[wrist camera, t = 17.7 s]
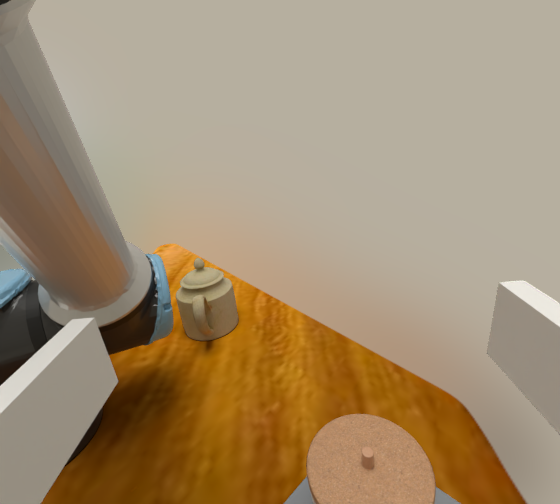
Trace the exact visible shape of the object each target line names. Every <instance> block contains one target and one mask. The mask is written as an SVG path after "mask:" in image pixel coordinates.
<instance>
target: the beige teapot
mask: <svg viewBox="0 0 560 504" xmlns="http://www.w3.org/2000/svg"><path fill="white" fill-rule="evenodd" d="M194 267H195V268H196V269H195V270H193V271H191V272H189V273H188V274H187V275H186V276H185V277H184V278H182V280H181V281H180V285H181V286H182V287H181V288H180V289H179V290H178V291H177V293H176V299H177V303H178V308H179V312H180V315H181V319H182V322H183V326H184V329H185V332H186V334H187V336H188V337H190V338H191V339H194V340H199V341H207V340H213V339H217V338H220V337H222V336H224V335H226V334H228V333H229V332H231V331H232V330H233V329H234V328H235V327H236V325H237V323H238V314H237V308H236V301H235V296H234V291H233V286H232V283H231V281H230V280H229V279H227V278H224V277H223V275H224V273H223V272H222V271H220V270H217V269H214V268H209V267H205V268H203V267H204V262H203V261H202V260H201V259H200V258H196V260H195V262H194Z"/></svg>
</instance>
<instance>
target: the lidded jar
mask: <svg viewBox="0 0 560 504" xmlns="http://www.w3.org/2000/svg"><path fill="white" fill-rule="evenodd" d="M306 467H307V478H308V483H309V488H310V492H311V497H312V501H313V504H434V502H435V492H436V484H435V477H434V473H433V469H432V466H431V464H430V462H429V459H428V457H427V455H426V454H425V452H424V451H423V449H422V447H421V446H420V445H419V444H418V443H417V441H416V440H415V439H414V438H413V437H412V436H411V435H410V434H409V433H407V432H406V431H405V430H404V429H402V428H401V427H400V426H398V425H396V424H394V423H393V422H391V421H388V420H386V419H384V418H381V417H377V416H373V415H368V414H350V415H346V416H342V417H339V418H337V419H334V420H333V421H331V422H329V423H328V424H326V425H325V426H324V427H323V428H322V429H321V430H320V431H319V432H318V433H317V434H316V436H315V437H314V439H313V441H312V443H311V445H310V448H309V451H308V455H307V465H306Z"/></svg>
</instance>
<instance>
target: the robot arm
mask: <svg viewBox="0 0 560 504" xmlns="http://www.w3.org/2000/svg"><path fill="white" fill-rule="evenodd" d="M34 2H35V0H0V245H1V246H2V247H3V248H4V249H5V250H6V251H7V252H8V253H9V254H10V255H11V256H12V257H13V258H14V259H15V260H16V261H17V262H18V263H19V264H20V265H21V266H22V267H23V268H24V269H25V270H26V271H27V272H28V273H29V274H28V273H27V272H26V271H25V270H23V269H16V270H14V269H10V270H5V271H1V272H0V504H40V503H41V502H42V500H43V499H44V497H45V496H46V494H47V493H48V491H49V489H50V488H51V486H52V485H53V483H54V482H55V480H56V478H57V477H58V475H59V474H60V472H61V471H62V469H63V467H64V466H65V465H66V464H67V463H68V462H70V461H71V460H72V459H73V458H74V457H75V456H76V455H77V454H78V453H79V452H80V451H81V450H82V449H83V448H84V447H85V446H86V445H87V444H88V442H89V441H90V440H91V438H92V437H93V435H94V434H95V432H96V431H97V429H98V427H99V425H100V422H101V419H102V414H103V409H102V406H103V405H104V403H105V402H106V400H107V399H108V397H109V396H110V394H111V392H112V391H113V389H114V388H115V386H116V385H117V383H118V379H117V376H116V374H115V371H114V368H113V366H112V363H111V360H110V358H109V355H111V354H115V353H118V352H121V351H124V350H128V349H131V348H134V347H138V346H141V345H149V344H151V343H152V342H153V341H156V340H159V339H161V338H164V337H166V336H168V335H169V334H170V333H171V331H172V329H173V312H172V306H171V304H170V303H171V300H170V291H169V286H168V281H167V276H166V272H165V268H164V264H163V261H162V259H161V257H160V256H158V255H157V254H151V255H150V254H144V253H143V251H142V250H141V249H139V248H138V247H137V246H135V245H133V244H132V243H130V242H127V241H125V240H124V237H123V235H122V233H121V231H120V228H119V226H118V224H117V221H116V219H115V217H114V215H113V213H112V210H111V208H110V206H109V203H108V201H107V199H106V196H105V194H104V192H103V190H102V187H101V185H100V183H99V180H98V178H97V176H96V173H95V171H94V169H93V167H92V164H91V162H90V160H89V157H88V155H87V153H86V151H85V148H84V146H83V144H82V142H81V139H80V137H79V135H78V133H77V130H76V128H75V126H74V123H73V121H72V119H71V117H70V114H69V112H68V110H67V108H66V105H65V103H64V100H63V98H62V96H61V94H60V91H59V89H58V87H57V84H56V82H55V80H54V78H53V75H52V73H51V71H50V68H49V66H48V64H47V61H46V59H45V57H44V55H43V52H42V50H41V48H40V45H39V43H38V41H37V39H36V37H35V34H34V32H33V29H32V27H31V25H30V23H29V20H28V13H29V11H30V9H31V8H32V6H33V4H34ZM31 276H32V277H33V278H34V279H35V280H34V281H33V280H31V279H32V277H31ZM487 354H488V355H489V356H490V357H491V358H492V360H493V361H494V362H495V363H496V364H497V365H498V366H499V367H500V368H501V370H502V371H503V372H504V373H505V374H506V375H507V376H508V378H509V379H510V380H511V381H512V382H513V383H514V384H515V385H516V386H517V387H518V389H519V390H520V391H521V392H522V393H523V394H524V395H525V397H526V398H527V399H528V400H529V401H530V402H531V403H532V404H533V405H534V407H535V408H536V409H537V410H538V411H539V412H540V413H541V414H542V416H543V417H544V418H545V419H546V420H547V421H548V422H549V423H550V425H551V426H552V427H553V428H554V429H555V430H556V431H557V432H558V433H559V435H560V303H558V302H557V301H555V300H554V299H552V298H551V297H549V296H548V295H546V294H544V293H543V292H541V291H539V290H538V289H537V288H535V287H534V286H532V285H530V284H529V283H527V282H526V281H524V280H521V281H510V282H500V283H499V284H498V290H497V296H496V302H495V308H494V314H493V320H492V325H491V332H490V338H489V343H488V349H487Z"/></svg>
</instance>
